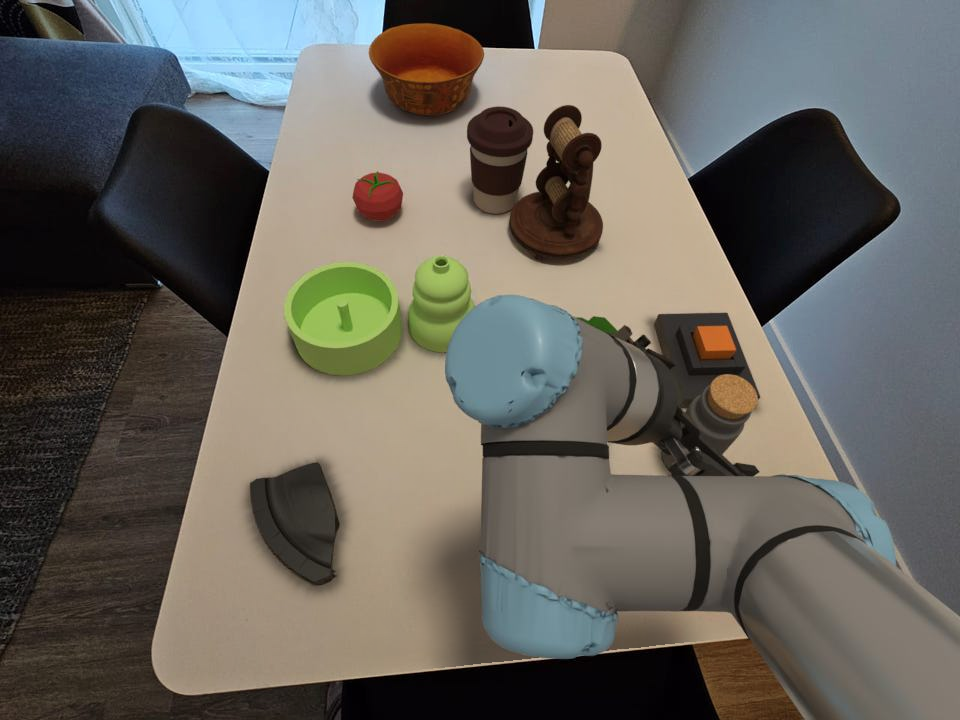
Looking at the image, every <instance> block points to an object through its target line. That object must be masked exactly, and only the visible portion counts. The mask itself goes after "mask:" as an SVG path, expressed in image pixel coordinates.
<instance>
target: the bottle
mask: <svg viewBox="0 0 960 720" xmlns="http://www.w3.org/2000/svg"><path fill="white" fill-rule="evenodd" d="M758 401H759V400H758V397H757V393H756V391H755V389H754V388H753V386H752V385H751V384H750V383H749V382H748V381H746V380H745V379H743V378H741V377H739V376H736V375H732V374H724V375H720V376H718V377H716V378H715V379H714V380H713V381H712V383H711V385H709V386H708V387H706V388H705V390H704V391H703V392H702V394H701V395H699V396H697V397H696V398H695V399H694V400H693V401H692V403H691V404H690V405H689V407H688V408H686V409H685V411H684V412H685V413H686V414H687V415H688V416H689V417H690V418H691V419H692V420H694V421H695V422H696V424H697V426H698V428H699V431H700V435H701V436H702V437H703V438H704V439H706V440H707V441H708V442H709V443H710V444H711V445H712V446H713V447H714V448H715V449H716V450H718V451H719V452H720V453H721V454H722V455H723V456H724V453H725V452H726V451H727V450H728V449H729V448H730V446H732V445H733V443H734V442H735V441H736V440H737V439H738V438H739V436H740V435H741V434H742V432H743V431H744V429H745V424H746V422H747V421H748V420H749V419H750V418H751V415H752V412H753V410H755V409H756V407H757V405H758V403H759V402H758ZM680 422H681V421H680ZM684 426H685V425H684V424H683V423H682V422H681V428H683V427H684ZM661 458H662V461H663V463H664V465H665V467H666V468H667V469H668V471H670V469H669V467H670V466H672V463H673V462H675V459H674V458H673V456H672V455H667V454H665V453H664V452H663V451H662V450H661Z"/></svg>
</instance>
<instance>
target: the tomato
mask: <svg viewBox="0 0 960 720" xmlns="http://www.w3.org/2000/svg"><path fill="white" fill-rule="evenodd" d="M356 180H357V181H356V182H355V184H354V188H353V192H352V200H353V202H354V204H355V207H356V209H357V211H358V213H359V214H360V215H362V216H363V217H365V218H367V219H368V220H370V221H374V222H384V221H388V220H389V219H392V218H393V217H394V216H395V215H396V214H397V213H398V212H399V211H400V210H401V209H402V204H403V198H404V191H403V190H402V188H401V185H400V184H399V181H398V179H396V178H395V177H393V176H392V175H390V174H387V173H384V172H379V171H378V170H377V171H376V172H370V173H368V174H365V175H363V176H362V177H360V178H357V179H356Z"/></svg>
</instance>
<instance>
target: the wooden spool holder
mask: <svg viewBox="0 0 960 720" xmlns="http://www.w3.org/2000/svg"><path fill="white" fill-rule="evenodd" d="M582 115H583V114H582V113H581V111H580V109H579V108H578V107H577V106H575V105H572V104H565V105H561V106H559V107H557V108H555V109H554V110H553V111H551V113H549V115H548V116H547V117H546V120H545V121H544V125H543V134H544V137H545V139H547V141H548V142H547V143H546V147H545V148H546V152H547V157H548V159H547V161H546V162H545V163H546V164H545V167H544V168H542V169H541V170H540V172H539V173H538V175H537V176H536V179H535V187H536V190H537V191H536V192H531V193H529V194H526V195H525V196H523V197H522V198H520V199H518V200H517V202H516V204H515V205H514V207H513V208H512V209H511V210H510V213H509V220H508V226H509V231H510V234H511V235H512V237H513V239H514V240H515V241H516V242H517V244H519V245H520V246H521V247H522V248H524V249H525V250H527V251H528V252H530V253H532V254H533V255H534V257H535V259H536V260H540V259H541V258H542V257H544V258H547V259H555V260H566V259H568V260H569V259H574V258H578V257H581V256H584V255H585V254H588V253H589V252H591V251H592V250H593V249H594V248H596V247H597V245H598V244H599V242H600V241H601V238H602V235H603V230H604V222H603V218H602V216H601V213H600V212H599V211H598V209H597V208H596V207H595V206H594V204H592V203H590V196H591V189H592V184H593V183H592V182H593V176H594V163H595V161H596V160H597V159H598V157H599V156H600V154H601V152H602V146H603V145H602V140H601V138H600V137H599V136H598V134H595V133H593V132H584V133H583V132H581V130H580V127H581V125H582V119H583V116H582ZM568 183H569V185H568V186H567V184H568Z"/></svg>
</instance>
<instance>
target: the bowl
mask: <svg viewBox="0 0 960 720" xmlns="http://www.w3.org/2000/svg"><path fill="white" fill-rule="evenodd" d="M368 57H369V60H370V62H371V64H372V65H373V67H374V68H375V70H376V71H377V72H378V74H379V75H380V77H381V79H382V82H383V86H384V90H385V93H386V95H387V97H388V99H389V100H390V101H391V103H393V104H394V105H395V106H396V107H397V108H399V109H401V110H404V111H405V112H408V113H412V114H415V115H420V116H438V115H444V114H447V113H450V112H454V111H455V110H457V109H458V108H459V107H461V106H462V105H463V104H465V102H466V101H467V100H468V98H469V96H470V94H471V90H472V85H473V80H474V77H475V75H476V73H477V72H478V70H479V68H480V67H481V65H482V63H483V61H484V58H485V50H484V47H483V46H482V45H481V43H480V42H479V41H478V40H477V39H476V38H474V37H473V36H472V35H470V34H469V33H467V32H464V31H462V30H460V29H458V28H454V27H451V26H448V25H443V24H437V23H430V22H429V23H428V22H425V23H424V22H423V23H408V24H401V25H398V26H394V27H390V28H388V29H385V30H384V31H382V32H381V33H380V34H378V35H377V36H376V37H375V38H374V39H373V41H372V42H371V44H370V46H369V48H368Z"/></svg>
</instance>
